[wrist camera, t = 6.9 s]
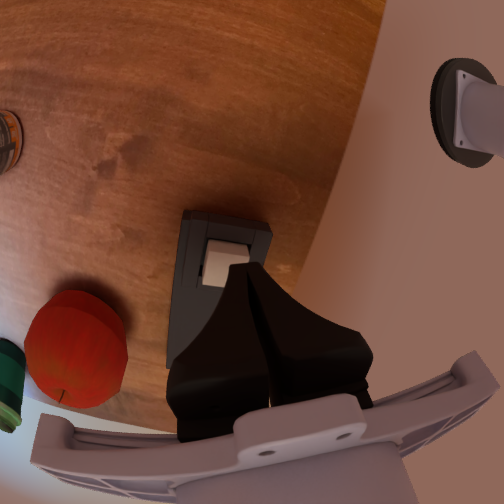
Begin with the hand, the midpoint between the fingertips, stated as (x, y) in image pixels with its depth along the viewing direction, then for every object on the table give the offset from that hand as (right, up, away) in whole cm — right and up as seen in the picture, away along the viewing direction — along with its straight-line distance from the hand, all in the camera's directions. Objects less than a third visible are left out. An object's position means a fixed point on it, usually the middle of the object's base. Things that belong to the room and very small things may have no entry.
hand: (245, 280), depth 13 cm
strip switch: (-2, +1, +8) cm, 8 cm away
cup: (-34, -14, +15) cm, 40 cm away
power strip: (-4, -4, +14) cm, 15 cm away
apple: (-16, -5, +13) cm, 21 cm away
